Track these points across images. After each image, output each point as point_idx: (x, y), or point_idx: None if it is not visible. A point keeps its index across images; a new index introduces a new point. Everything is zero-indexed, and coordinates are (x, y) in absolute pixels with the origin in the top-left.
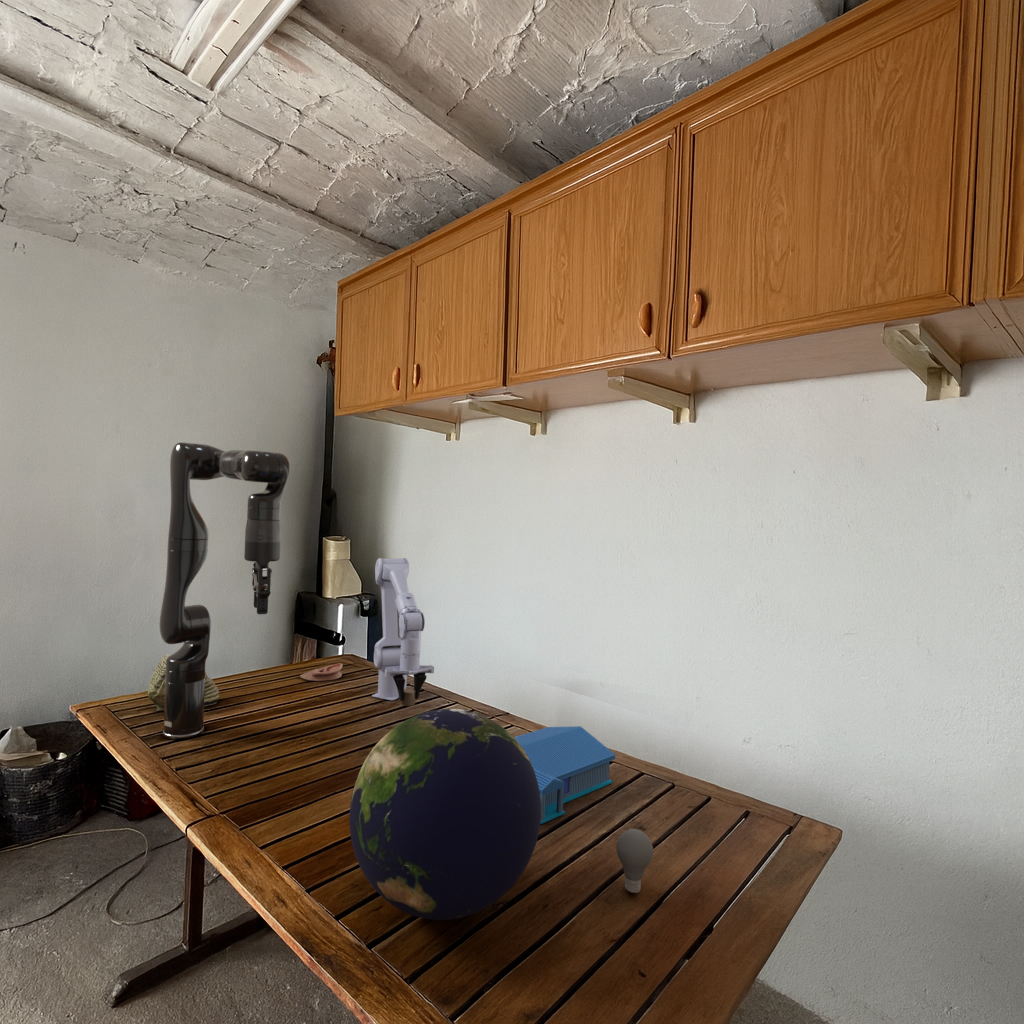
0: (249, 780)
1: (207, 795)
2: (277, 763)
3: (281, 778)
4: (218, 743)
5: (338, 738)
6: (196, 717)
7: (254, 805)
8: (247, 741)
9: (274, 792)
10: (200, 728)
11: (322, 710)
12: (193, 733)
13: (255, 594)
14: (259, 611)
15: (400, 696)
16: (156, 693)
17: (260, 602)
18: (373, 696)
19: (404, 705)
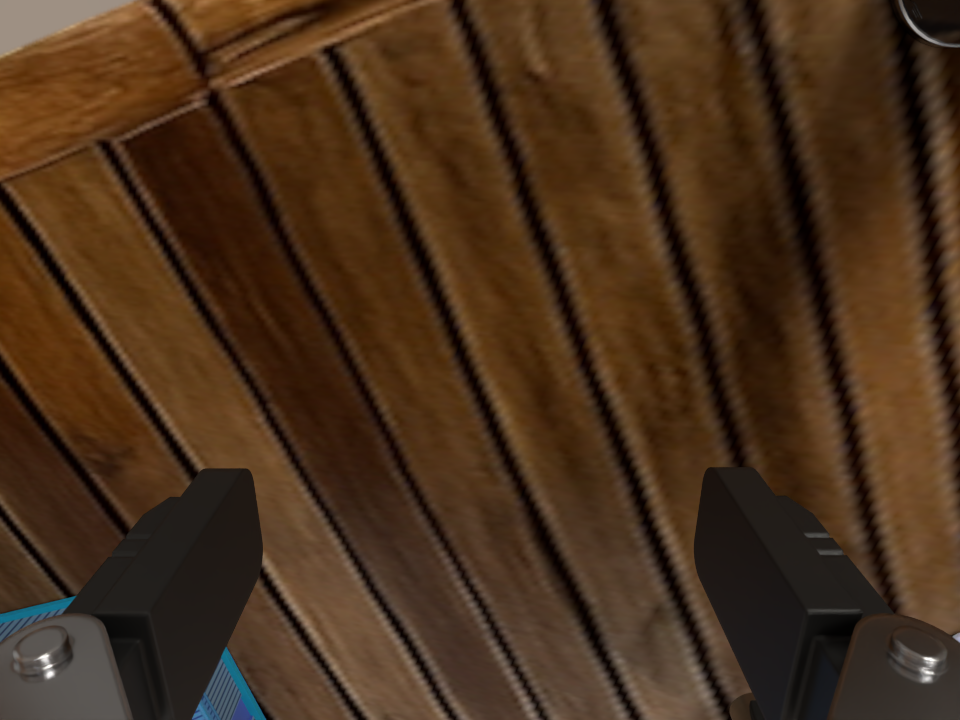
0: (414, 188)
1: (343, 55)
2: (514, 281)
3: (398, 280)
4: (780, 103)
5: (640, 473)
6: (947, 5)
7: (238, 189)
8: (749, 205)
9: (308, 251)
10: (926, 32)
11: (922, 473)
12: (900, 4)
13: (782, 596)
14: (163, 505)
15: (759, 711)
16: None
17: (88, 596)
18: (955, 636)
19: (741, 696)
